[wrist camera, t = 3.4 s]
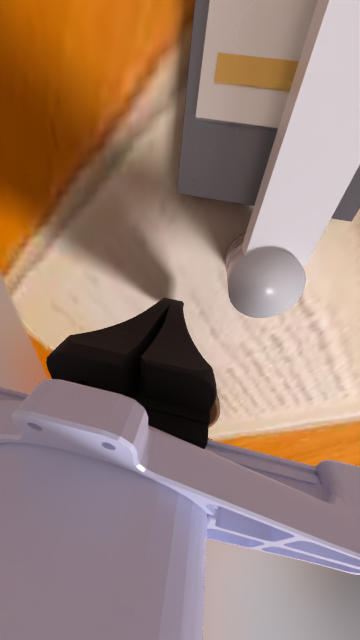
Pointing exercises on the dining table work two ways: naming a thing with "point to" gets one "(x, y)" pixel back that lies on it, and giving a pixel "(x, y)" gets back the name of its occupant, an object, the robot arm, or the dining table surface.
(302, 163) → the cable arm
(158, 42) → the dining table surface
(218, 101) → the grey flat block
